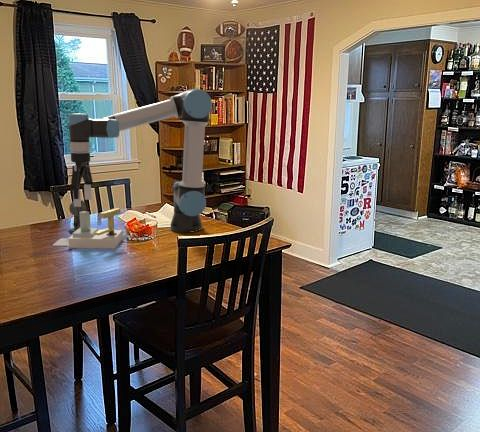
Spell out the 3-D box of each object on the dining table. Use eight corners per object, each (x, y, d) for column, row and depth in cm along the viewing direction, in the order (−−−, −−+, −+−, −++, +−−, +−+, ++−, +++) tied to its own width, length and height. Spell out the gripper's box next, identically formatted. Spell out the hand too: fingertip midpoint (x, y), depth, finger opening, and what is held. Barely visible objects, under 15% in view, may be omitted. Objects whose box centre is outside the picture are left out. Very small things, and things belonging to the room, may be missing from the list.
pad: (78, 239, 207) (78, 238, 207) (70, 246, 197) (69, 245, 197) (61, 238, 207) (61, 238, 207) (52, 245, 197) (52, 245, 197)
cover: (98, 231, 205) (97, 209, 203) (91, 237, 196) (90, 215, 194) (80, 230, 205) (78, 209, 203) (72, 236, 196) (71, 214, 194)
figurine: (86, 234, 214) (84, 202, 210) (64, 233, 214) (62, 201, 211) (92, 229, 222) (90, 198, 219) (71, 228, 223) (69, 197, 219)
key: (117, 230, 206) (116, 208, 203) (121, 231, 205) (120, 208, 202) (95, 238, 194) (93, 214, 191) (99, 239, 193) (98, 215, 190)
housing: (123, 238, 209) (122, 229, 208) (114, 248, 195) (114, 239, 194) (80, 237, 209) (79, 228, 208) (68, 247, 195) (68, 238, 194)
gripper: (81, 148, 204) (83, 196, 209) (59, 155, 180) (63, 209, 185) (98, 149, 204) (100, 197, 209) (79, 156, 180) (82, 209, 185)
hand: (83, 202), depth 197 cm, fingers open, 13 cm apart
